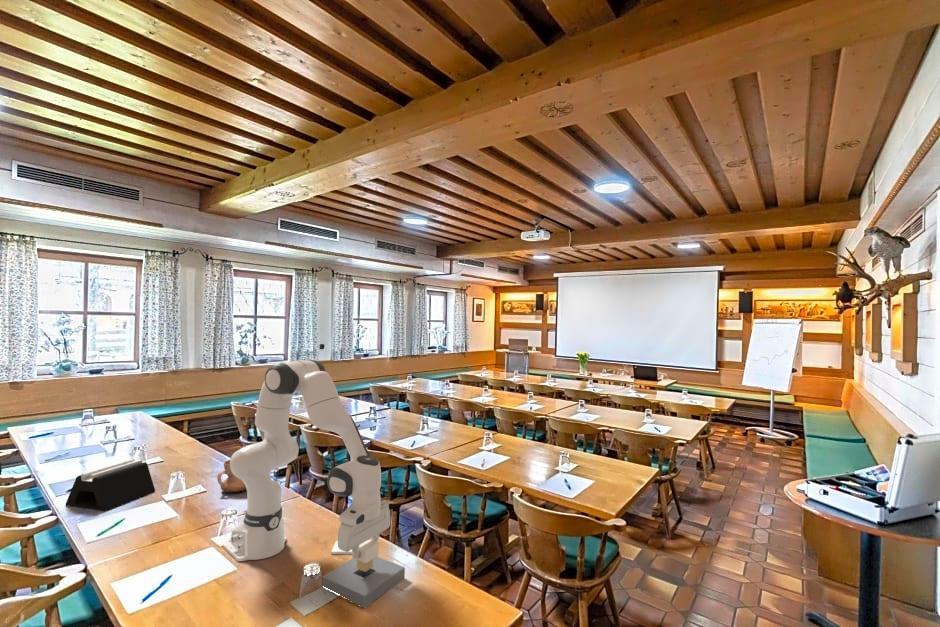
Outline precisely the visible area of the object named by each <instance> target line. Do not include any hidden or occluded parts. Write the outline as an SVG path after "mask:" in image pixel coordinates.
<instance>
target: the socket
mask: <svg viewBox="0 0 940 627" xmlns="http://www.w3.org/2000/svg"><path fill="white" fill-rule="evenodd" d="M405 570H406V568H405V566H403V565H399V564H398V563H395V562H392V561H390V560H387V559H385V558H383V557H380V556H377V557H375V558H374V559H373V567H372V568H370V569H369V570H367V571H366V572H364V571H361V570H359V569H357V559H354V558H351V559H349V560H348V561H346V562H344V563H343V564H341V565H340V566H337V567H335V569H333V570H331V571H330V572H327V573H326V574H325V575H323V576H322V579H321V580H322V583H321V585H323V586H324V587H326V588H328V589H330V590H332V591H334V592H336V593H338V594H340V595H341V596H343V597H345V598H347V599H349V600H350V601H352V602H354V603H356V604H357V605H356V604H355V605H356V606H358V605H360V606H362V607H364V608H365V607H366V608H368V607H369V606H370V605H371V604H372V602H373V601H374V602H375V601H376V599H377V600H378V599H379V598H381V597H382V596H383V595H385V594H386V593H387V592H388V591H390V590H391V589H392V588H394V587H395V586H397V585H398V584H399V583H400V582H401V581H403V580H404V579H405V575H406V574H405V572H406V571H405ZM364 576H365V577H364ZM350 601H349V602H350ZM352 602H351V603H352ZM374 602H373V603H374ZM354 603H353V604H354ZM369 604H370V605H369ZM368 605H369V606H368ZM360 606H359V607H360ZM362 607H361V608H362ZM364 608H363V609H364ZM366 608H365V609H366Z"/></svg>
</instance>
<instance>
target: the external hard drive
mask: <svg viewBox="0 0 940 627" xmlns="http://www.w3.org/2000/svg"><path fill="white" fill-rule="evenodd" d="M330 553H331V554H342V555H352V549H351V550H350V551H348V552H345V551H343V550H341V549H339V547H338V540H335V542H334V545H333V547H332V548H331V552H330Z"/></svg>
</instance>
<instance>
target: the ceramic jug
mask: <svg viewBox="0 0 940 627" xmlns="http://www.w3.org/2000/svg"><path fill="white" fill-rule="evenodd" d="M230 460H231V458H230V459H228V460H225V461H223V468H224V469H223V470H220V471H219V472H218V474H217V477H216V478H217V482H218V484H219V486H220V489H221V491H223V492H225V493H229V492H231V494H233V493H232V492H236V493H240V491H242V492H245V491H247V489H246V486H245V484H244V482H243V481H242V480H241V479H239V478H237V477H236V476H234V474H233V473H232V472H231V469H230ZM224 474H225V475H226V476H227V477H226V478H225V479H224V480H223V481H222V475H224ZM244 490H245V491H244Z"/></svg>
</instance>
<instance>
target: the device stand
mask: <svg viewBox="0 0 940 627" xmlns="http://www.w3.org/2000/svg"><path fill="white" fill-rule="evenodd" d="M70 490H71V491H70V492H69V495H68V498H67V500H66V501H65V506H66V507H73V508H79V509H86V510H94V511H98V512H99V511H100V512H108V511H110V510H113V509H115V508H118V507H121V506H123V505H126V504H128V503H132V502H134V501H135V500H139V499H141V498H144V497H146V496H148V495H150V493H151V494H154V493H155V492H156V489H155V485H154V482H153V478H152V474H151V472H150V469H149V465H148V463H147V461H144V462H143V459H137V460H135V458H131V459H126V460H123V461H120V462H117V463H115V464H110V465H107V466H103V467H100V468H97V469H94V470H93V469H92V470H90V471H87V472H84V473H82V474H80V475H77V476H76V477H75V480H74V481H73V484H72V487H71V489H70Z"/></svg>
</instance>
